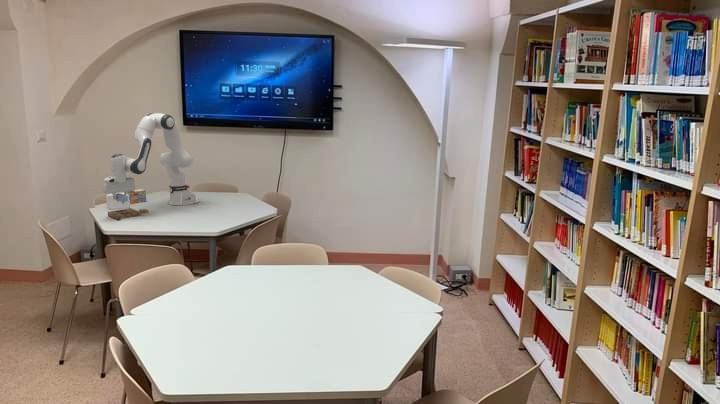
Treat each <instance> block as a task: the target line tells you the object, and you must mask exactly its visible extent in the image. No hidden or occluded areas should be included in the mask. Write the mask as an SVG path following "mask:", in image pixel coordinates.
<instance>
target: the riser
mask: <svg viewBox="0 0 720 404" xmlns="http://www.w3.org/2000/svg"><path fill="white" fill-rule="evenodd" d="M139 212H141V214H145V213H149V209H148V208H141V209H139Z"/></svg>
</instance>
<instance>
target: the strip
mask: <svg viewBox="0 0 720 404" xmlns="http://www.w3.org/2000/svg"><path fill="white" fill-rule="evenodd" d="M115 196H117V197H118V199H115V200H116V201H117V202H119V201H120V202H122V204H125V202H126V201H128V196H126V195H123V194H120V193H116V194H115ZM113 199H114V196H113Z"/></svg>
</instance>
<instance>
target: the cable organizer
mask: <svg viewBox="0 0 720 404" xmlns="http://www.w3.org/2000/svg"><path fill="white" fill-rule="evenodd" d="M119 193H120V194H123V195H124V194H125V193H124V192H119ZM126 196H128V201H126V202H125V204H122V202H120V201H119V202H117V201H116V200H115V199H113V194H112V193H110V194H105V197H106V200H105V201H106V208H107V210H109V211H113V210H122V209H129V208H131V207H130V206H131V204H130V201H129V195H128V193H127V195H126Z"/></svg>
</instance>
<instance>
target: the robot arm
mask: <svg viewBox="0 0 720 404" xmlns="http://www.w3.org/2000/svg"><path fill="white" fill-rule="evenodd" d="M156 129H158V130H162V131H163V138H164V139H163V140H164V143H165V147H166V148H167V149H169V150H170V152H169V151H168V152H163V153H161V154H160V156H159V162H160V164H161V165H162V167H164V168H165V169H166V172H167V174H168V178H169V179H168V181H169V185H168V186H169V187H168V188H169V189H168V190H169V200H168V204H169V205H170V206H187V205H188V206H189V205H192V204H196V203H200V200H199V199H197V197H196V194H195V193H193V192H192V191H191V190H190V187H191V185H187V184H186V178H185V177H186V176H185V174H184V173H183V172H182V171H181V169H183V168H184V169H185V168H189V167H191V166H192V164H193V157H192V155H191V154H190V153H188V152H187V151H186V149H185V147H184V146H183V144H182V139H181V135H180V130H179V126H178V124H177V122H176V121H175V119H174V117H173V116H172V115H170V114H167V113H162V112H152V113H149V114H147V115H146V116H143V117H142V118H141V120H140V121H139V123H138V124H137V127H136V129H135V131H134V139H135V141H137V143H138V144H139V146H140V148H139V151H138V155H137V157H136V158H131V157H128V156H126V155H124V154H122V153H116V154H113V155H112V156H111V157H110V170H111V173H110V176H107V177H105V178H104V179H103V181H104V182H103V186H102V192H103V193H104V194H105V195H106V194H110V193H112V194H113V196H114V199H118V197H117V196H115V194H116V193H119V192H124V193H125V194H124V195H127V191H135V190H136V184H135V183H136V181H135V178H134V177H132V176H131V177H127V173H131V174H135V175H142V174H143V173H145V172H146V170H147V161H148V158H149V154H150V152H151V151H150V150H151V148H152V139H153V135H154V133H155V130H156ZM180 168H181V169H180Z"/></svg>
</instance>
